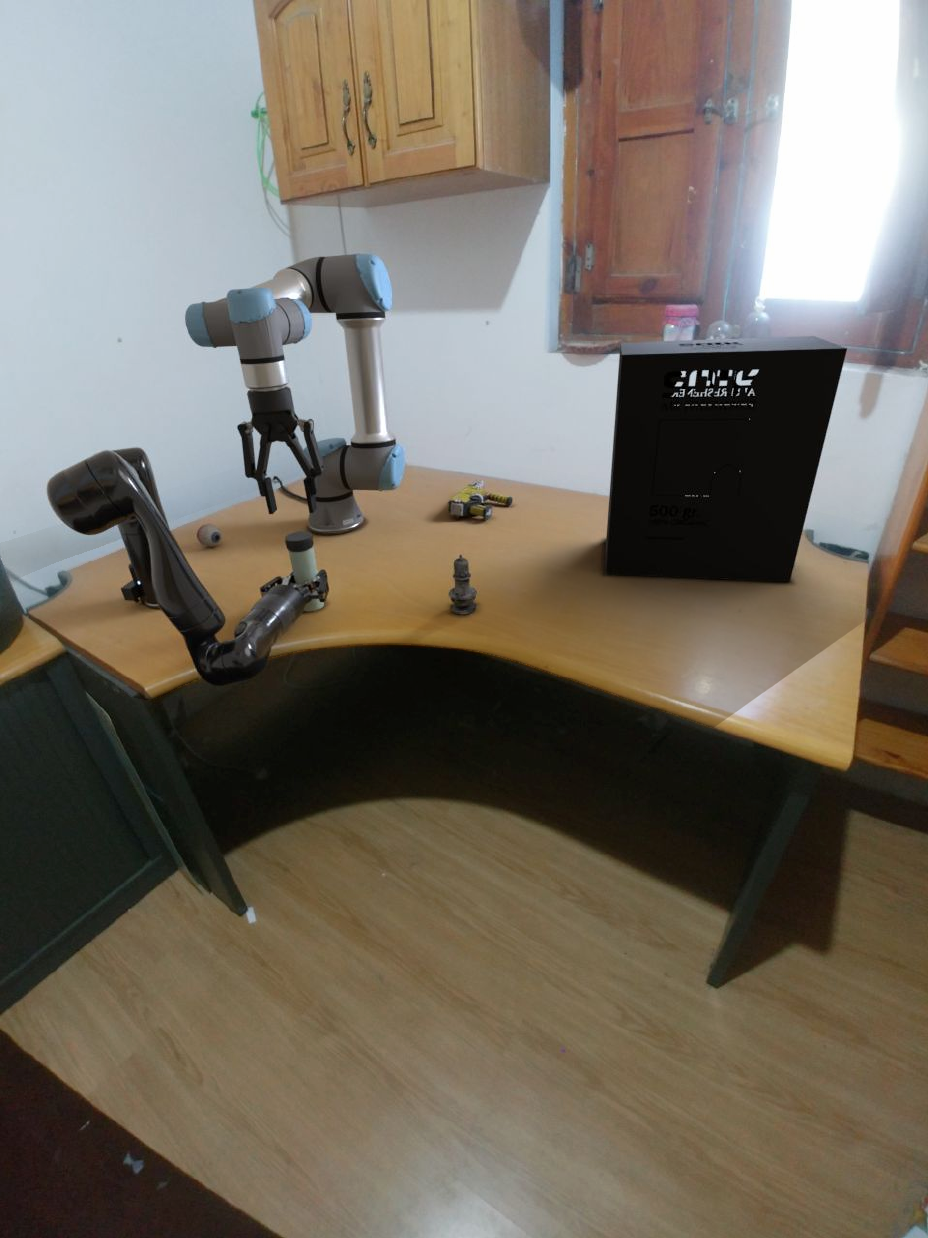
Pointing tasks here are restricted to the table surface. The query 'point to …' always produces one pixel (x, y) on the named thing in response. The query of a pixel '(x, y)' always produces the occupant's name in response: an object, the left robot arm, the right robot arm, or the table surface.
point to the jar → (305, 573)
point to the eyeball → (209, 535)
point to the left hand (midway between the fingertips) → (311, 573)
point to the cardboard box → (717, 455)
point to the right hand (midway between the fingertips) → (293, 511)
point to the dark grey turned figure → (462, 588)
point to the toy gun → (475, 501)
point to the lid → (299, 541)
